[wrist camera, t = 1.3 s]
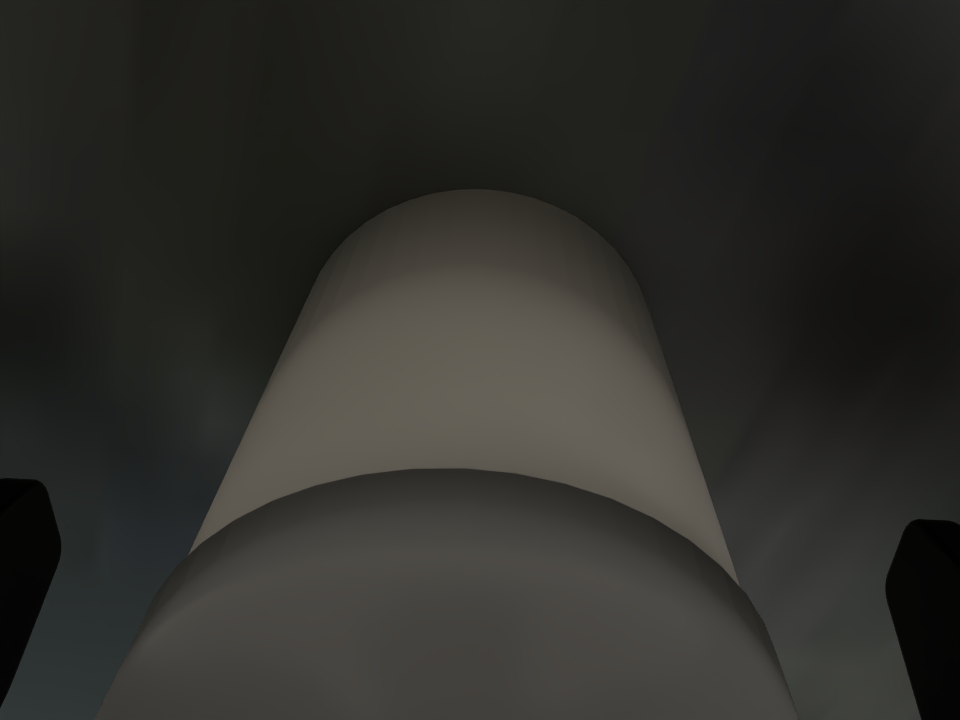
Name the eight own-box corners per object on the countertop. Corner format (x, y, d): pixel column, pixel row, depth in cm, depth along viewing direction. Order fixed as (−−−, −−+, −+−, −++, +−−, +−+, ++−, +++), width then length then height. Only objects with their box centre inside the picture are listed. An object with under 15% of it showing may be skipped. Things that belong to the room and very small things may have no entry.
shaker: (687, 190, 11) (923, 598, 5) (634, 507, 13) (743, 1033, 7) (280, 172, 11) (-8, 554, 5) (307, 493, 13) (143, 1005, 7)
